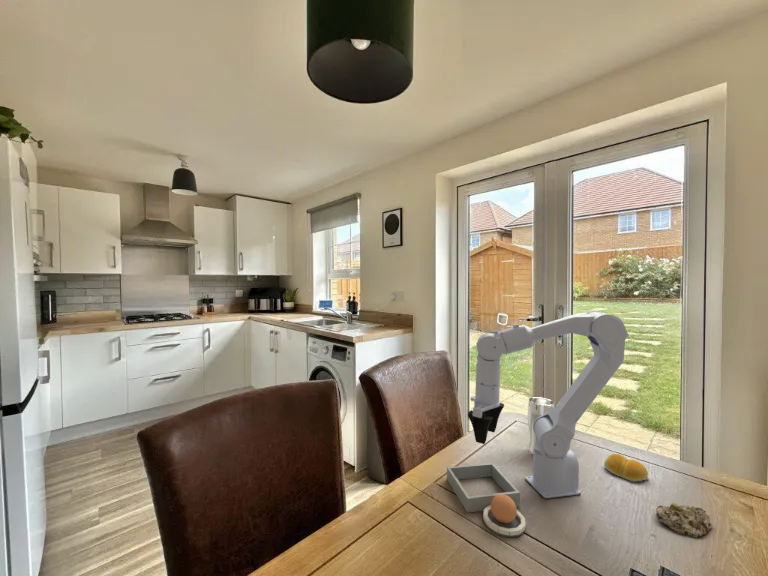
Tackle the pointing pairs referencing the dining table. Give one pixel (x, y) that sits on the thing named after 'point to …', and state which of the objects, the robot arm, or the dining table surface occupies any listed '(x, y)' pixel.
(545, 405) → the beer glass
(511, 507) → the orange ball
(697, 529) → the mineral rock
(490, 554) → the dining table surface
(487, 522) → the ring
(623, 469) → the bread roll
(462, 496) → the low pen
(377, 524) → the dining table surface
